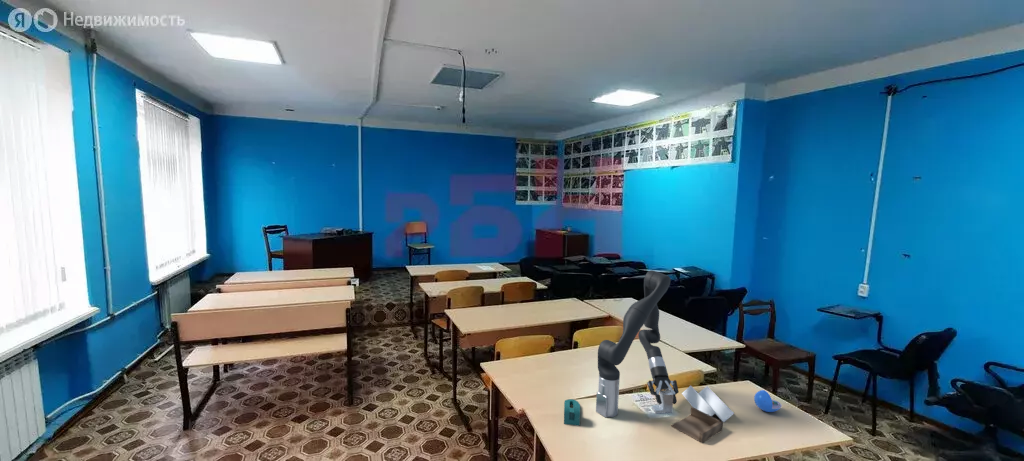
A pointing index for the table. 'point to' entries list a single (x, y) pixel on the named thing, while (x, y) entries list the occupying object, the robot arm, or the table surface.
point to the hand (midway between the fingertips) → (667, 403)
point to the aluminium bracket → (664, 403)
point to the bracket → (571, 412)
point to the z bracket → (707, 402)
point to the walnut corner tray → (699, 425)
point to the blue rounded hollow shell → (766, 402)
